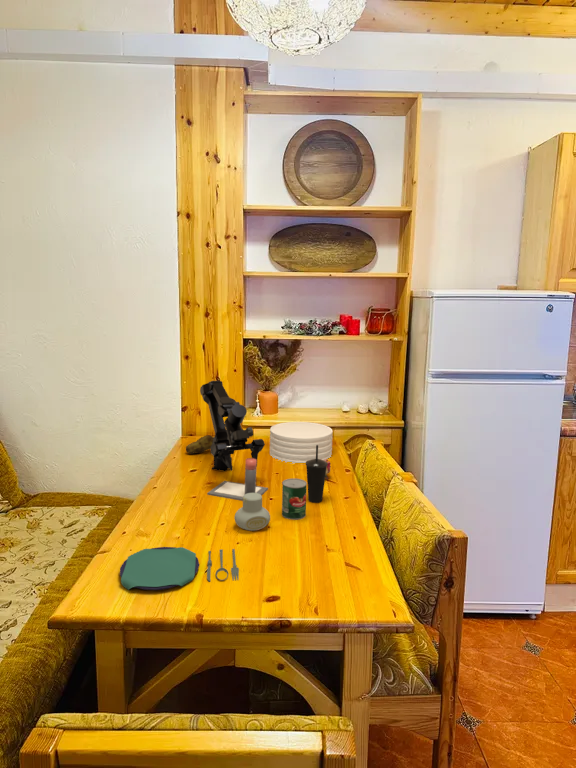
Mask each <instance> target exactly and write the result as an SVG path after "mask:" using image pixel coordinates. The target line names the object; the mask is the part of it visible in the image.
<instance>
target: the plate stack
mask: <svg viewBox="0 0 576 768" xmlns="http://www.w3.org/2000/svg"><path fill="white" fill-rule="evenodd" d="M269 432H270V434H269V455H270V456H272V458H273V459H274V458H275V460H276V459H278V460H277V461H279V460H281V461H280V462H283V461H285V462H284V463H287V462H292V463H291V464H295V463H306V461H308V460H311V459H316V445H318V459H321V460H325V459H328V458H330V457H331V458H332V456H331V455H333V453H332V451H333V429H332V428H331V427H329V426H328V425H325V424H322V423H317V422H310V421H288V422H281V423H276V424H274V425H272V426H271V427H270V429H269ZM331 458H330V459H331ZM328 460H329V459H328Z"/></svg>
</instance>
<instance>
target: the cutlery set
mask: <svg viewBox="0 0 576 768" xmlns="http://www.w3.org/2000/svg"><path fill="white" fill-rule="evenodd" d="M223 551H224V549H219V557H220V559H219V560H220V567H219V568H218V569H216V572H215V577H216V578H218V573H219V572H222V571H224V572H225V573H226V574H227V575H226V578H224V579H223V581H225V580H227V578H228V577H229V570H228V569H227V568H225V567H224V566H223V561H224V560H223V555H224V553H223ZM235 552H236V550H235V548H232V567H230V572H231V573H230V574H231V577H232V581H236V582H237V581H239V575H240V574H239V572H240V568H239V567H237V565H236V563H237V562H236V553H235ZM211 553H212V550H208V560H207V564H206V565H207V570H206V580H207V581H208V582H209V583H211V568H212V566H213V563H212V562H213V561H212V559H211ZM199 567H200V562H199V559H198V557H197V554H196V552H193V551H192V550H190V549H187V548H185V547H175V546H172V547H171V546H161V547H152V548H143V549H141V550H139V551H137V552H134V553H132V554H131V555H129V556H127V558H126V560H124V561H123V562H122V564H121V565H120V568H119V577H120V582H121V586H123V587H124V588H125V589H126V590H128V591H129V590H130V589H132V588H137V589H138V590H139V589H140V590H148V591H158V590H159V591H160V590H167V589H171V588H174V587H177V586H180V587H183V586H184V585H187V584H188V583H189V582H192V581H193V580H194V578H195V575H196V574H197V573H198V570H199ZM218 580H219V581H221V579H220V578H218Z"/></svg>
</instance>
